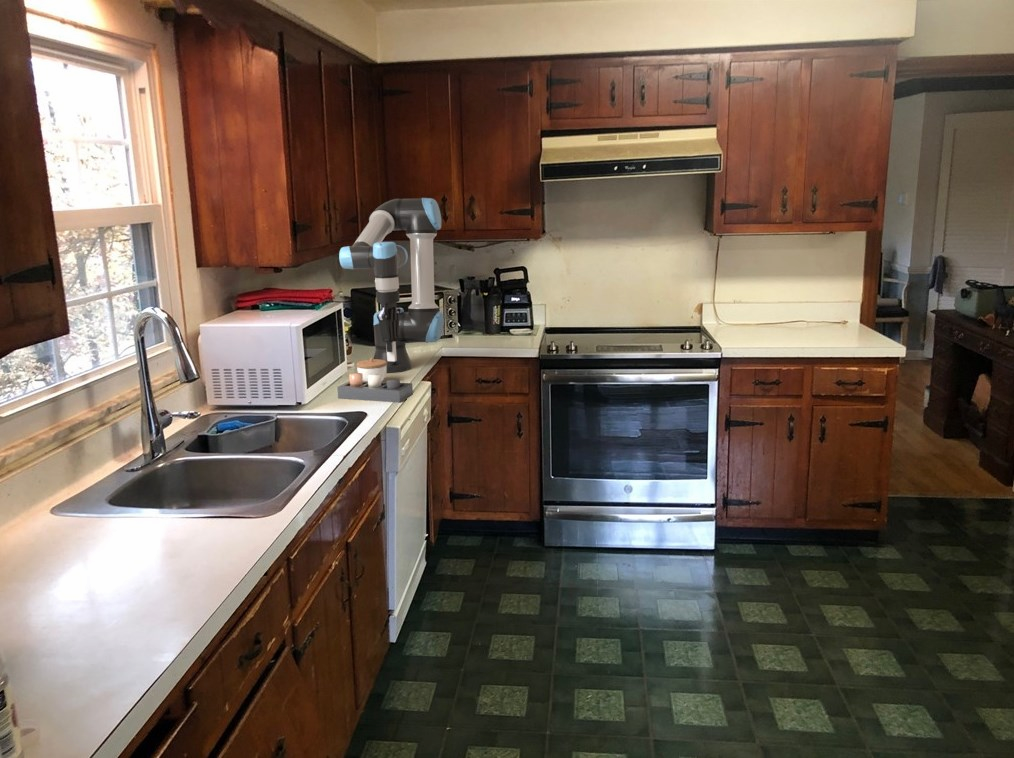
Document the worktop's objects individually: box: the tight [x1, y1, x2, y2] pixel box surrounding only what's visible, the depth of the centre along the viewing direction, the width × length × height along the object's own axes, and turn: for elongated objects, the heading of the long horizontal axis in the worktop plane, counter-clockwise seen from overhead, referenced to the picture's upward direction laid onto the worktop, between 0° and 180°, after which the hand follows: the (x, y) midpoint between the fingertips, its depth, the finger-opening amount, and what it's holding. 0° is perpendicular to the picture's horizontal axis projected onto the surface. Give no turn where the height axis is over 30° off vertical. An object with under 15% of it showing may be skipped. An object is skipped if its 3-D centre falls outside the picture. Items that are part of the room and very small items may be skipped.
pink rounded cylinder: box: [348, 372, 363, 387], centre depth 269 cm, size 4×4×5 cm
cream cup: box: [368, 374, 382, 388], centre depth 267 cm, size 4×4×5 cm
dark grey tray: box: [336, 380, 414, 403], centre depth 268 cm, size 10×23×4 cm, turn 71°
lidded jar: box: [356, 357, 387, 382], centre depth 286 cm, size 11×11×9 cm
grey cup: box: [386, 378, 401, 389], centre depth 265 cm, size 4×4×5 cm
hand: (392, 360), depth 263 cm, fingers closed
